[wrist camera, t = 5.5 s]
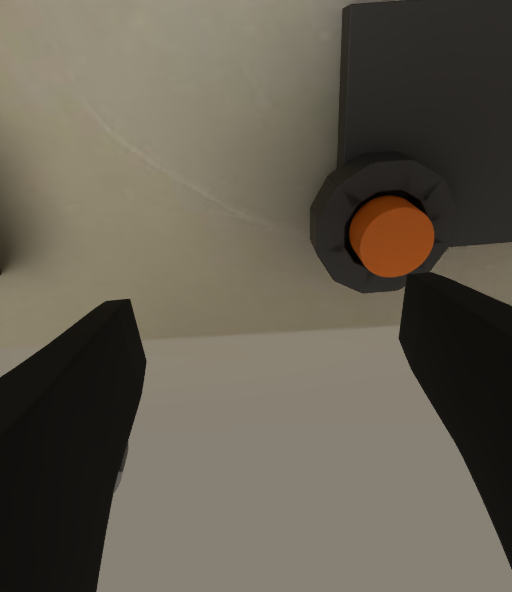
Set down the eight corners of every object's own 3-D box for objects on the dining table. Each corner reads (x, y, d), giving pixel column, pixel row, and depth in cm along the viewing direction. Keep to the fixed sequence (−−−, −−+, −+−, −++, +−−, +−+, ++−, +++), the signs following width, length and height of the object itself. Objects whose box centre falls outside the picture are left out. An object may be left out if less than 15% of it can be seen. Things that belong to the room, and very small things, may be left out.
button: (422, 191, 17) (440, 204, 15) (412, 257, 18) (429, 275, 17) (350, 197, 17) (362, 210, 15) (346, 263, 18) (357, 281, 17)
